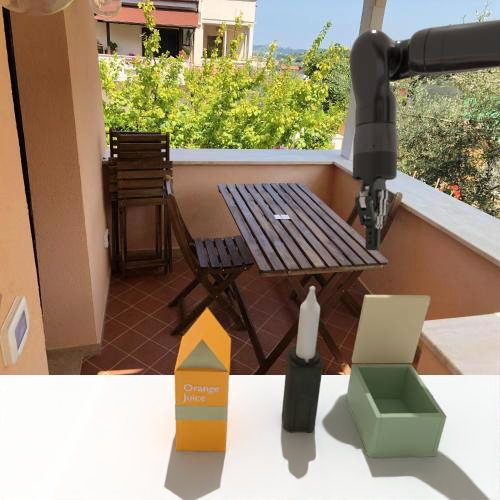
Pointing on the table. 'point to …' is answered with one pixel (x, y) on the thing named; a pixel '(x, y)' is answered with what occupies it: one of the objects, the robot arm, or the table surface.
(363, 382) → the chest
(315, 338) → the candle
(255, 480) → the table surface
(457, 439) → the table surface
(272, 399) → the table surface
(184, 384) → the orange juice
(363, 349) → the lid
